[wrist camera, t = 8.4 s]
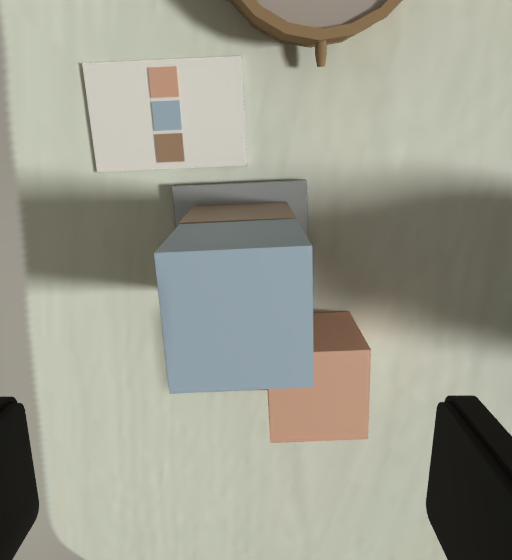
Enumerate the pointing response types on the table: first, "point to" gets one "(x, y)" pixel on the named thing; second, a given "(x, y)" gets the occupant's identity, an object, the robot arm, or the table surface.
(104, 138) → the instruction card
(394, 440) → the table surface
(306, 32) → the alarm clock
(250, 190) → the base
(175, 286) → the blue block
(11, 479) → the robot arm
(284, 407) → the terracotta block
